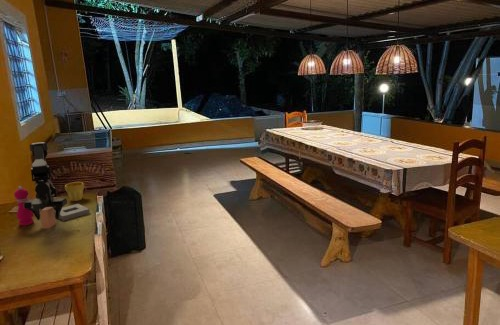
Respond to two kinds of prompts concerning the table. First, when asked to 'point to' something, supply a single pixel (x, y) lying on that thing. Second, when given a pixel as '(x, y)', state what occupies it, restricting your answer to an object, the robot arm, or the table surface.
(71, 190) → the plant pot
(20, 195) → the pink bowling pin
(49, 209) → the keyed peg
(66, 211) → the socket block
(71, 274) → the table surface
